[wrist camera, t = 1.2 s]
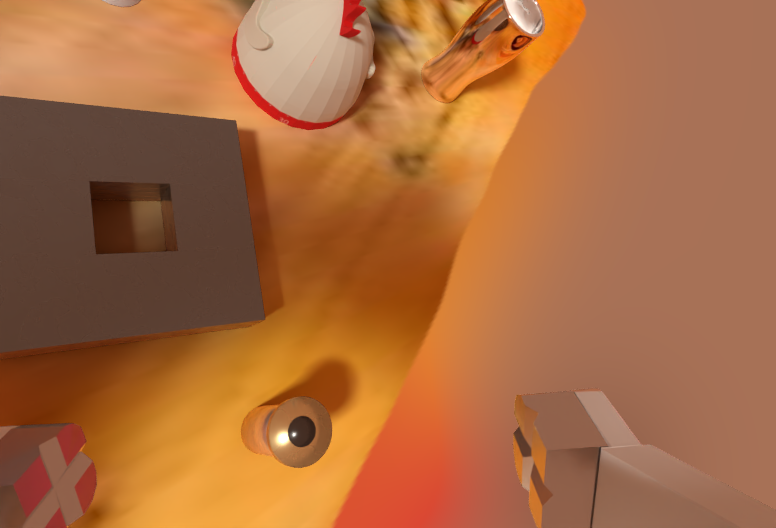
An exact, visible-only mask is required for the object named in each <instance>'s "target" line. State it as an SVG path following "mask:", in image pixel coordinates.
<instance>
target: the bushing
mask: <svg viewBox="0 0 776 528" xmlns="http://www.w3.org/2000/svg"><path fill="white" fill-rule="evenodd" d="M241 436H242V440H243V443H244V444H245V446H246V447H247V448H248V449H249V450H250V451H252V452H253V453H256V454H261V455H268V456H274V457H275V458H276V460H278V461H279V462H280V463H282V464H284V465H286V466H290V467H295V468H302V467H307V466H310V465H312V464H314V463H315V462H317V461H318V460H319V459H320V458H321V457H322V456H323V455H324V454H325V452H326V450H327V449H328V447H329V444H330V441H331V437H332V423H331V419H330V416H329V414H328V412H327V410H326V408H325V407H324V406H323V405H322V404H321V403H320V402H318V401H317V400H315V399H313V398H310V397H293V398H290V399H288V400H285V401H284V402H282V403H281V404H280V405H267V406H260V407H257V408H255V409H253V410H252V411H250V412H249V413H248V415H247V416H246V417H245V419H244V421H243V424H242V428H241Z"/></svg>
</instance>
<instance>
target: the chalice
mask: <svg viewBox="0 0 776 528" xmlns="http://www.w3.org/2000/svg"><path fill="white" fill-rule="evenodd" d="M103 1H105V2H107V3H109V4H111V5H116V6H120V7H126V6H132V5H135V4H137V3H139V2H140V1H141V0H103Z"/></svg>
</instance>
